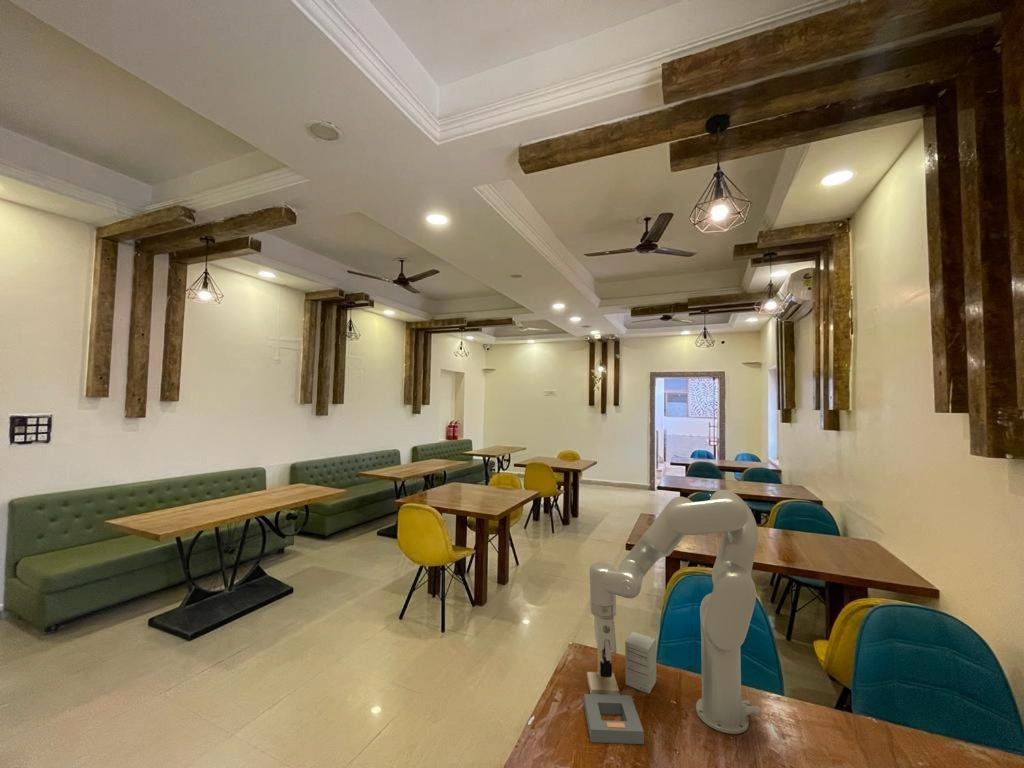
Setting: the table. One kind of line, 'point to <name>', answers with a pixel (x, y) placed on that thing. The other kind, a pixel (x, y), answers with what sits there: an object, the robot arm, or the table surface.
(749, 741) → the table surface
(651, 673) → the supplement box
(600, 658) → the brass peg
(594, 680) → the beige square plate
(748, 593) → the robot arm
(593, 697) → the hole plate
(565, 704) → the table surface
